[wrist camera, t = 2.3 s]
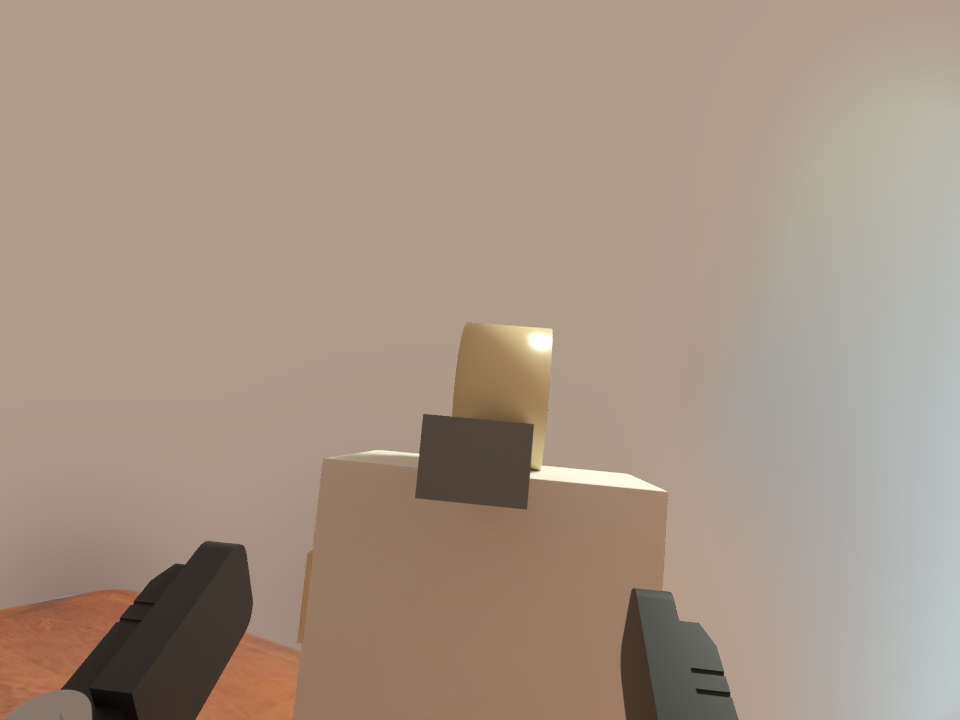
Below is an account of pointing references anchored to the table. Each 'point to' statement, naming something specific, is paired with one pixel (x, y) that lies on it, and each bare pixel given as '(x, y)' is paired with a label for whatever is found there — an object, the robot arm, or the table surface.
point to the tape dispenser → (490, 419)
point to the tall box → (472, 595)
